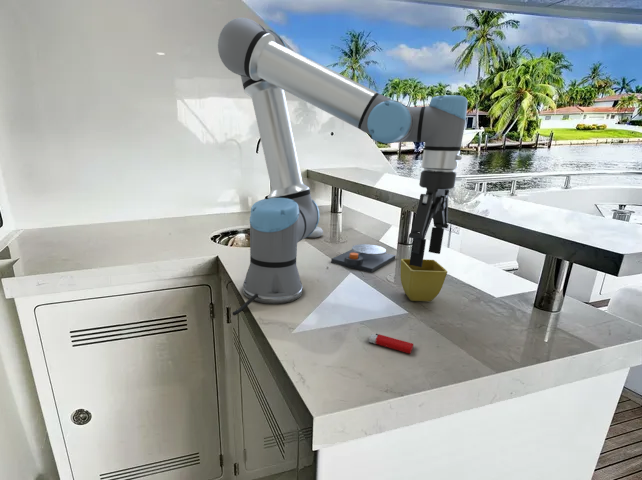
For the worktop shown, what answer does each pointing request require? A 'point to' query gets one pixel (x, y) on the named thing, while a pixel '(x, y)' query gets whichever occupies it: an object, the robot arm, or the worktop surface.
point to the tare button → (353, 255)
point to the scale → (363, 261)
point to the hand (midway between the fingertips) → (425, 258)
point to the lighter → (391, 343)
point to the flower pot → (422, 279)
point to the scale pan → (369, 249)
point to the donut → (316, 233)
